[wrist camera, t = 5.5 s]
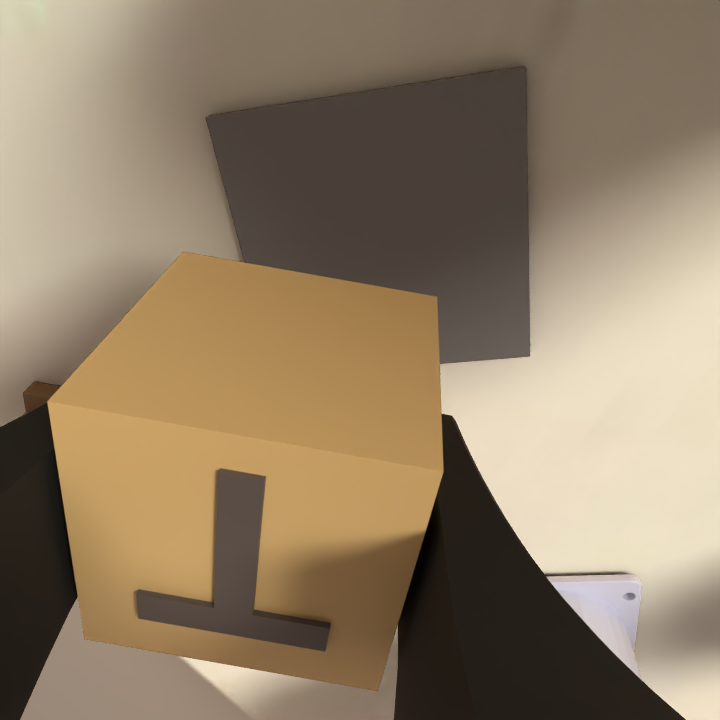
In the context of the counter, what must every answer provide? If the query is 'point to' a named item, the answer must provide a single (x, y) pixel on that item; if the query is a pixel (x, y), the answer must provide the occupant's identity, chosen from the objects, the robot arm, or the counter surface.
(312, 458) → the lettered cube
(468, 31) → the counter surface
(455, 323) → the charcoal mat
